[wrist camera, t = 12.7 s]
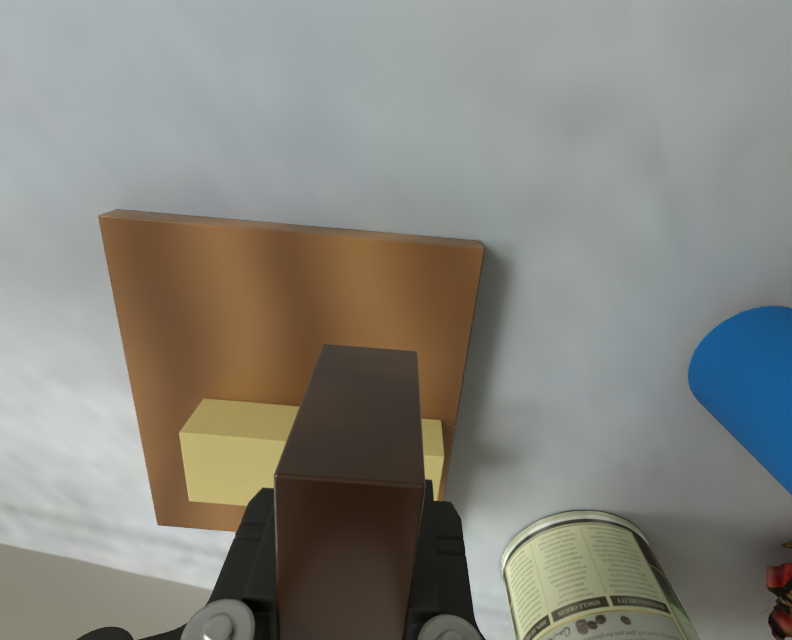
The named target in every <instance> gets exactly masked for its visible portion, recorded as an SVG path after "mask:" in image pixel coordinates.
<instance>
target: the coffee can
mask: <svg viewBox="0 0 792 640" xmlns="http://www.w3.org/2000/svg"><path fill="white" fill-rule="evenodd" d="M501 577H502V579H503V582H504V585H505V590H506V595H507V600H508V605H509V610H510V615H511V620H512V625H513V631H514V636H515V640H700V638H699V636H698V634H697V632H696V630H695V629H694V627H693V625H692V623H691V621H690V619H689V618H688V616H687V614H686V612H685V610H684V608H683V607H682V605H681V603H680V601H679V599H678V597H677V596H676V594H675V592H674V590H673V589H672V587H671V585H670V583H669V581H668V579H667V577H666V576H665V574H664V572H663V570H662V568H661V566H660V565H659V563H658V561H657V559H656V558H655V556H654V554H653V552H652V550H651V548H650V545H649V543H648V541H647V539H646V537H645V536H644V535H643V533H642V532H641V531H640V530H639V529H638V528H637V527H636V526H634V525H633V524H632V523H630V522H628V521H627V520H625V519H623V518H621V517H618V516H615V515H612V514H609V513H604V512H598V511H571V512H563V513H559V514H557V515H552V516H548V517H546V518H543V519H541V520H539V521H537V522H535V523H533V524H531V525H530V526H528V527H527V528H525V529H524V530H522V531H521V532H520V533H519V534H518V535H516V536H515V537H514V538H513V539H512V541H511V542H510V544H509V545H508V546H507V548H506V550H505V552H504V554H503V557H502V560H501Z"/></svg>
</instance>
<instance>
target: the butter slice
mask: <svg viewBox="0 0 792 640" xmlns="http://www.w3.org/2000/svg"><path fill="white" fill-rule="evenodd" d="M421 421H422V437H423V453H424V468H425V479H428V480H432V483H433V495H434V501H438V495H439V489H440V482H441V476H442V470H443V464H444V446H443V435H442V425H441V420H434V419H422V418H421Z"/></svg>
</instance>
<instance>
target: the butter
mask: <svg viewBox="0 0 792 640" xmlns="http://www.w3.org/2000/svg"><path fill="white" fill-rule="evenodd" d="M299 407H300V406H289V405H277V404H265V403H254V402H242V401H230V400H218V399H207V398H204V399H203V400H202V402H201V403H200V404H199V406H198V407H197V409H196V410H195V411H194V413H193V414H192V415H191V417H190V418H189V420H188V421H187V422H186V424H185V425H184V427H183V428H182V429H181V431H180V432H179V436H180V442H181V449H182V456H183V463H184V470H185V476H186V483H187V490H188V497H189V501H193V502H205V503H217V504H229V505H241V506H247V505H248V502H249V501H250V500H251V499H252V498H253V497H254V496H255V495H256V494H257V493H258V492H259V491H260V490H261V489H262V488H274V473H275V470H276V468H277V465H278V462H279V460H280V457H281V454H282V452H283V449H284V446H285V444H286V441H287V438H288V436H289V433H290V431H291V428H292V425H293V423H294V420H295V417H296V415H297V412H298V409H299Z"/></svg>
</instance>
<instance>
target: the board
mask: <svg viewBox="0 0 792 640" xmlns="http://www.w3.org/2000/svg"><path fill="white" fill-rule="evenodd" d="M98 218H99V223H100V229H101V234H102V239H103V244H104V249H105V255H106V260H107V265H108V270H109V275H110V281H111V286H112V291H113V296H114V301H115V307H116V312H117V317H118V322H119V327H120V332H121V338H122V343H123V348H124V353H125V358H126V364H127V369H128V374H129V379H130V384H131V390H132V395H133V400H134V405H135V410H136V416H137V421H138V426H139V431H140V436H141V442H142V447H143V452H144V457H145V462H146V467H147V473H148V478H149V483H150V488H151V493H152V499H153V504H154V509H155V514H156V519H157V525H162V526H173V527H185V528H197V529H209V530H221V531H233V532H237V530H238V527H239V525H240V524H241V520H242V517H243V515H244V512H245V510H246V507H247V506H241V505H229V504H217V503H205V502H193V501H189V497H188V490H187V483H186V476H185V470H184V463H183V456H182V449H181V442H180V436H179V432H180V431H181V429H182V428H183V427H184V425H185V424H186V422H187V421H188V420H189V418H190V417H191V415H192V414H193V413H194V411H195V410H196V409H197V407H198V406H199V404H200V403H201V402H202V400H203V399H204V398H207V399H218V400H230V401H242V402H254V403H265V404H277V405H289V406H300V404H301V401H302V399H303V396H304V393H305V391H306V388H307V385H308V383H309V380H310V378H311V375H312V372H313V370H314V367H315V364H316V362H317V359H318V356H319V354H320V351H321V348H322V346H323V345H324V344H332V345H344V346H357V347H369V348H382V349H395V350H407V351H416V352H417V357H418V373H419V389H420V405H421V418H422V419H434V420H441V425H442V435H443V446H444V464H443V470H442V476H441V482H440V489H439V495H438V501H443V497H444V491H445V485H446V479H447V473H448V467H449V461H450V455H451V449H452V443H453V437H454V431H455V425H456V419H457V413H458V407H459V400H460V394H461V388H462V382H463V376H464V370H465V364H466V358H467V352H468V346H469V340H470V334H471V328H472V322H473V316H474V310H475V304H476V298H477V292H478V286H479V280H480V274H481V268H482V262H483V256H484V248H483V246H482V244H481V242H480V241H475V240H464V239H453V238H441V237H430V236H418V235H407V234H395V233H384V232H372V231H361V230H349V229H338V228H326V227H315V226H303V225H292V224H280V223H269V222H257V221H246V220H234V219H223V218H211V217H200V216H188V215H177V214H165V213H154V212H142V211H131V210H119V209H116V210H113V211H110V212H107V213H104V214H101V215H99V216H98Z"/></svg>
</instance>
